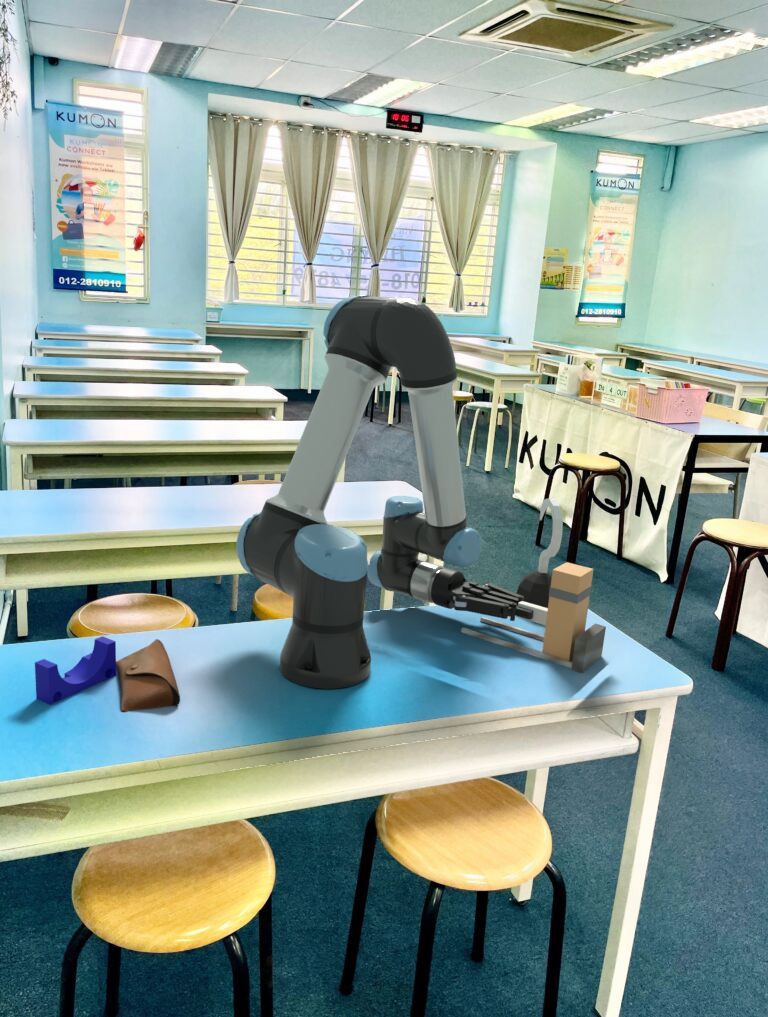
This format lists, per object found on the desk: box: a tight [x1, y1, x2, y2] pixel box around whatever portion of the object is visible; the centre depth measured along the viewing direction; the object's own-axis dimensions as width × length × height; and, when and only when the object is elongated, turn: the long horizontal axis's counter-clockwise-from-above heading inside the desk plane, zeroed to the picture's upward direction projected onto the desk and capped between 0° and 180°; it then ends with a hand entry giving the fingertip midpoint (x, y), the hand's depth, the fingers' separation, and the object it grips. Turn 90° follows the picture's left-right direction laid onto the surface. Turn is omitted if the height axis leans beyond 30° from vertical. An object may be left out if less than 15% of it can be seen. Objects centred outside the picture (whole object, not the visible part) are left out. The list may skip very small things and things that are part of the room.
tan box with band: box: [541, 562, 594, 662], centre depth 136 cm, size 5×6×16 cm
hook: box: [515, 498, 564, 608], centre depth 156 cm, size 11×11×25 cm
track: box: [460, 616, 607, 674], centre depth 141 cm, size 24×9×7 cm, turn 54°
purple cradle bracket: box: [34, 636, 117, 706], centre depth 118 cm, size 12×4×6 cm, turn 149°
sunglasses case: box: [116, 638, 181, 713], centre depth 121 cm, size 18×7×7 cm
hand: (552, 618), depth 138 cm, fingers closed
